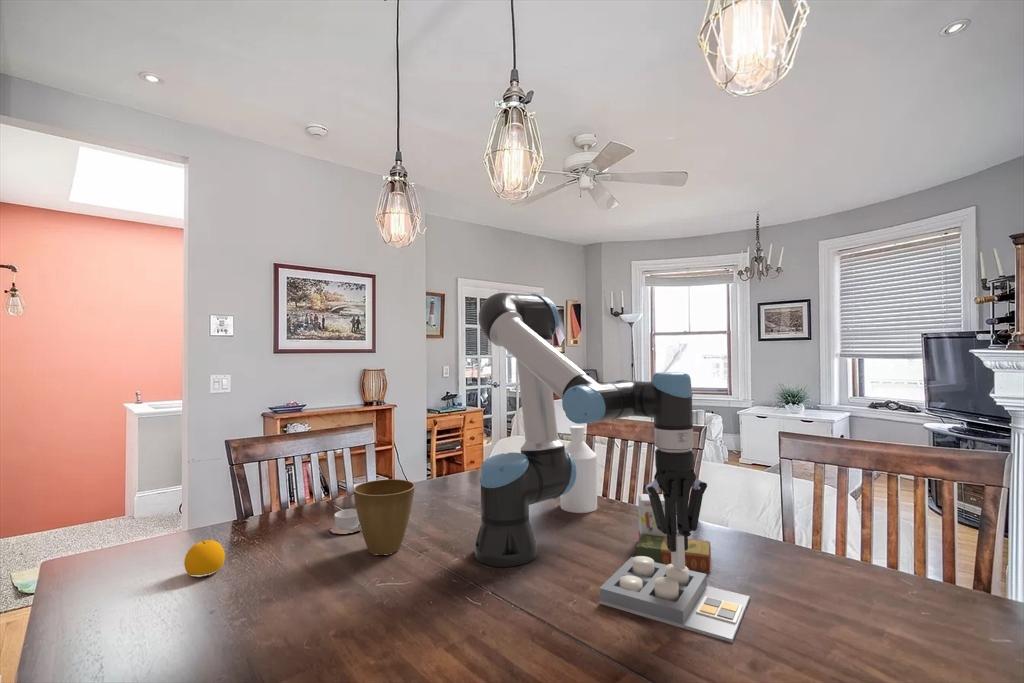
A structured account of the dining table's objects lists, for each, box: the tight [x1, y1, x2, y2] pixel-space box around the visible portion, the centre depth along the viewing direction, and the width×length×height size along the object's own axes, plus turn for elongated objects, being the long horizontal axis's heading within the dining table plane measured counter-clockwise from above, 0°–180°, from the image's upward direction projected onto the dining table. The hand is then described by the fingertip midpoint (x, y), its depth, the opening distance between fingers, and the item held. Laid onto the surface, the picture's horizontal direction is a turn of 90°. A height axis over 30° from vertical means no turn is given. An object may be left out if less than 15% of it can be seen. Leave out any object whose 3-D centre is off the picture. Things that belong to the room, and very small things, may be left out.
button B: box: [632, 556, 654, 578], centre depth 104 cm, size 4×4×3 cm
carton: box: [635, 534, 712, 573], centre depth 116 cm, size 8×16×4 cm, turn 67°
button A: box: [620, 575, 643, 592], centre depth 99 cm, size 4×4×3 cm
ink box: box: [637, 493, 667, 540], centre depth 125 cm, size 9×5×12 cm, turn 83°
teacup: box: [333, 508, 360, 530], centre depth 140 cm, size 10×10×5 cm
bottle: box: [559, 425, 598, 514], centre depth 156 cm, size 12×12×25 cm
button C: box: [654, 577, 679, 602], centre depth 95 cm, size 4×4×3 cm
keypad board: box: [599, 556, 751, 643], centre depth 97 cm, size 24×17×3 cm
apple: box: [183, 539, 226, 576], centre depth 113 cm, size 8×8×8 cm
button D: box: [666, 564, 690, 586], centre depth 100 cm, size 4×4×3 cm
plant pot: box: [352, 478, 416, 555], centre depth 125 cm, size 15×15×16 cm
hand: (678, 566), depth 100 cm, fingers closed
